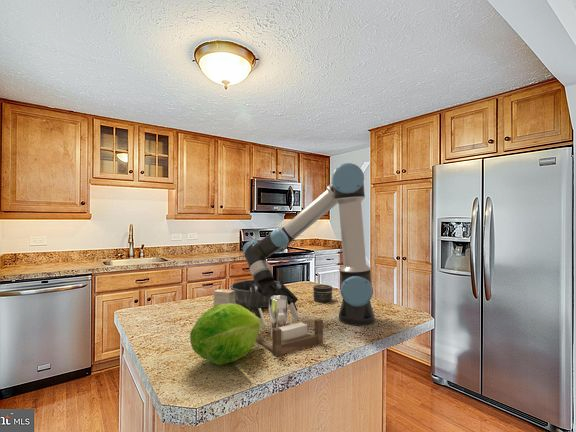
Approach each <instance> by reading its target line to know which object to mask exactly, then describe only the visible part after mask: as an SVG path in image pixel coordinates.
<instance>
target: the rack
mask: <svg viewBox="0 0 576 432" xmlns="http://www.w3.org/2000/svg"><path fill="white" fill-rule="evenodd" d="M291 324H292V323H289V322H288V323H287V322H286V326H287V325H291ZM256 342H257V343H258V344H260V345H261V346H262V347H264V348H265V349H267V350H268V351H269V352H270V353H272V355H274V356H275V357H277V356H282V355H284V354H287V353H291V352H296V351H298V350H302V349H305V348H308V347H309V348H310V347H312V346H317V345H321V344H323V343H324V320H323V319H322V318H316V319H314V334H310V336H307V337H303V338H299V339H295V340H291V341H287V342H283V343H281V329H280V328H274V329H273V338H272V345H271V344H270V343H268V342H267V341H266V340H264V339H263V338H262V337H260V336H259V335H257V339H256Z"/></svg>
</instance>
